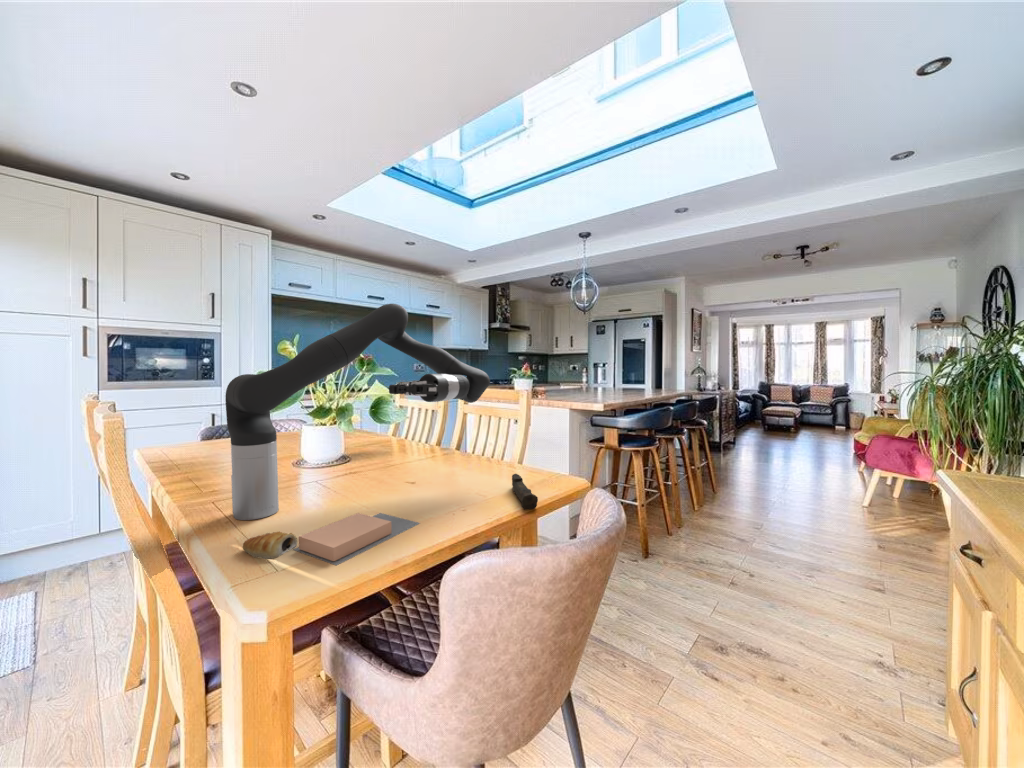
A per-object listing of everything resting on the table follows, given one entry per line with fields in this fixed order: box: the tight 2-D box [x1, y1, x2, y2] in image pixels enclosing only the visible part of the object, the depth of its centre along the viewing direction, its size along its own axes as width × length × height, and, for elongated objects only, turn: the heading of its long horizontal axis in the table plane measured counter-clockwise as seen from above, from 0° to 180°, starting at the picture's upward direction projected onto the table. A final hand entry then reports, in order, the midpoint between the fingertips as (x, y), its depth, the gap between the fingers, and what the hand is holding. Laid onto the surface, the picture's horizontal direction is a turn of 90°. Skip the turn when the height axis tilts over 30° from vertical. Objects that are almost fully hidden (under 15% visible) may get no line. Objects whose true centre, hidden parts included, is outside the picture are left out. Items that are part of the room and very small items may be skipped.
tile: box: [298, 512, 392, 561], centre depth 83 cm, size 10×3×14 cm
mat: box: [292, 512, 421, 566], centre depth 86 cm, size 12×22×1 cm, turn 151°
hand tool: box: [511, 473, 539, 511], centre depth 112 cm, size 19×4×5 cm, turn 10°
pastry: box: [242, 531, 298, 560], centre depth 80 cm, size 9×7×4 cm
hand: (391, 389), depth 98 cm, fingers closed
